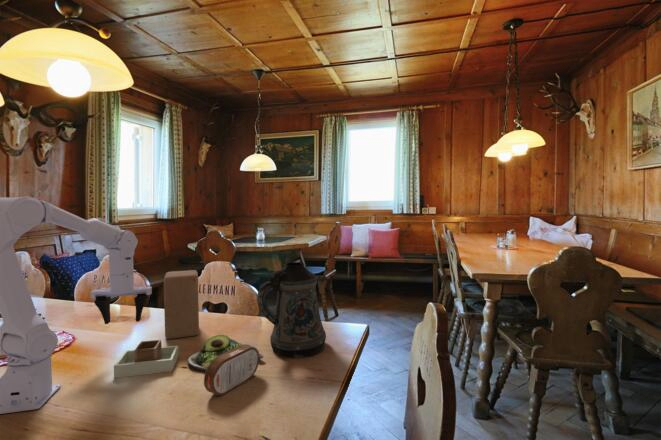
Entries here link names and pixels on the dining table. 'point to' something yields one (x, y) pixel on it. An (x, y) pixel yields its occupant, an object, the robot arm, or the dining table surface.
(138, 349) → the walnut crate
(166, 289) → the wooden block
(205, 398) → the dining table surface
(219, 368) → the tin
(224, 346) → the salad plate
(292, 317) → the beer stein
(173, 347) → the sage crate
